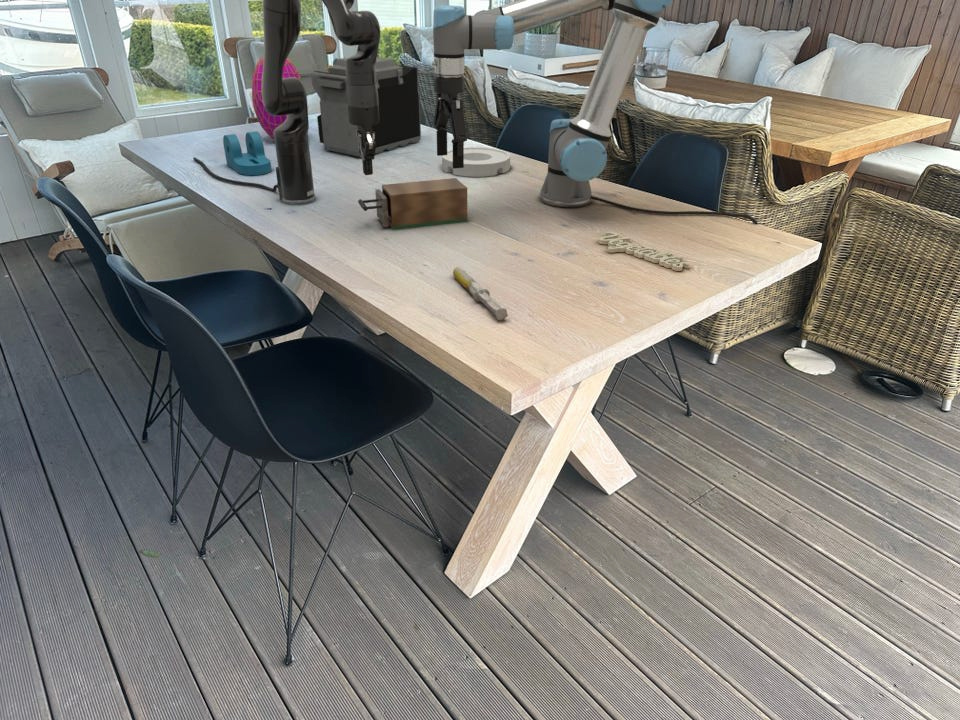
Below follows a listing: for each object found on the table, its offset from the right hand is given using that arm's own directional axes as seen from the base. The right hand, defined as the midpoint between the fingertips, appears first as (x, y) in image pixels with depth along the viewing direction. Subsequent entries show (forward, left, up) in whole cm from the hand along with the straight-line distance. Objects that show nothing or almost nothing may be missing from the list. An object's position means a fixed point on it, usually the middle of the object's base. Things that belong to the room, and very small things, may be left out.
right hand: (449, 161), depth 182 cm
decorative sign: (-53, +4, -15) cm, 56 cm away
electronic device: (+64, -59, -15) cm, 88 cm away
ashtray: (+16, -49, -15) cm, 54 cm away
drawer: (+9, +9, -14) cm, 19 cm away
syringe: (-29, +43, -15) cm, 54 cm away
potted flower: (+101, -92, -15) cm, 137 cm away
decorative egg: (+98, -51, -15) cm, 112 cm away
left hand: (+15, +16, -2) cm, 22 cm away
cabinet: (+5, +5, -15) cm, 17 cm away
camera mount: (+82, -13, -15) cm, 84 cm away
